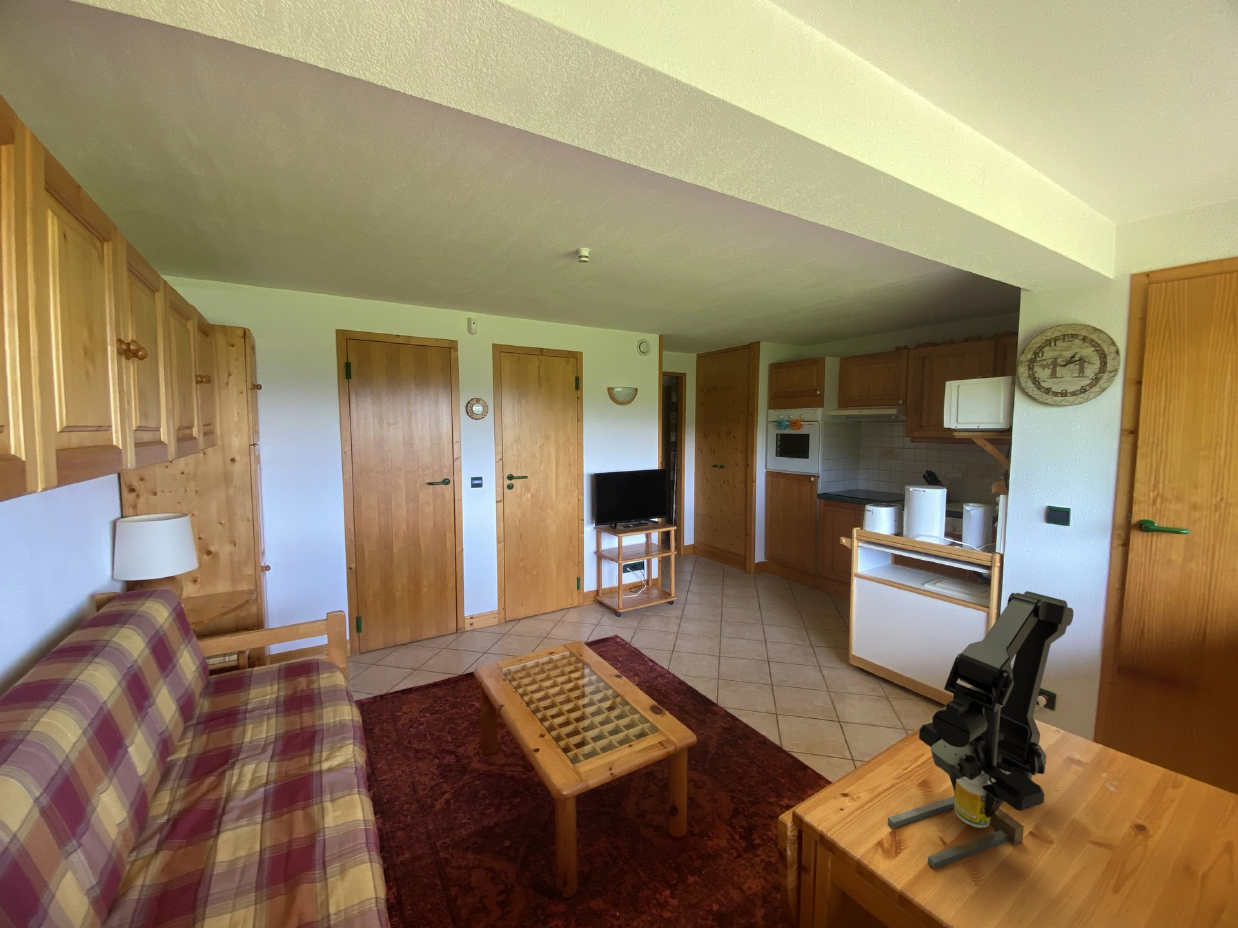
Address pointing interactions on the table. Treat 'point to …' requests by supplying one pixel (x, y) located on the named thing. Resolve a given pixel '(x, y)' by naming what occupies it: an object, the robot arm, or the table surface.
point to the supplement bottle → (972, 800)
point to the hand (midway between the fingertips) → (972, 803)
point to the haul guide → (999, 821)
